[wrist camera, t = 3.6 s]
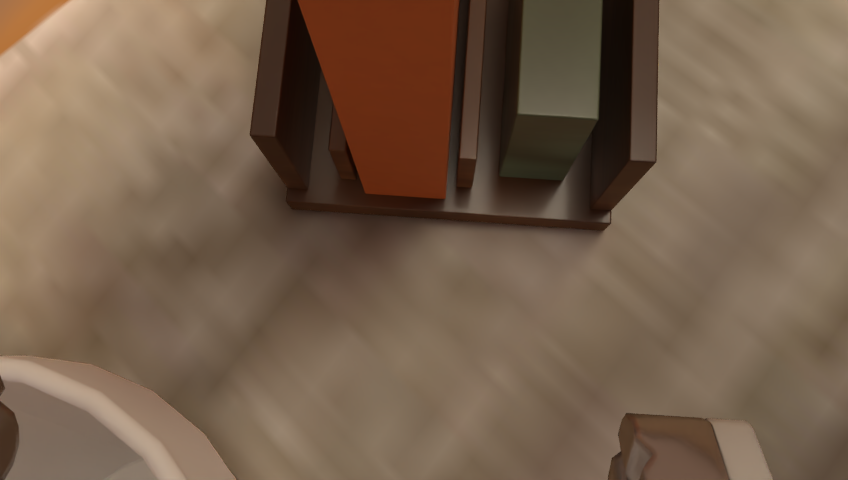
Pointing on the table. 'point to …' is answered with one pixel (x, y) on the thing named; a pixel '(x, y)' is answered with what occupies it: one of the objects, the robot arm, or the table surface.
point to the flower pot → (99, 427)
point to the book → (390, 86)
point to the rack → (486, 114)
